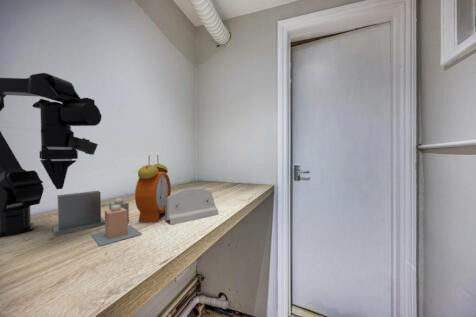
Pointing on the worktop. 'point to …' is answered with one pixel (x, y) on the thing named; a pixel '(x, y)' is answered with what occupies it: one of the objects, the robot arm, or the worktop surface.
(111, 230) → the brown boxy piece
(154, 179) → the alarm clock
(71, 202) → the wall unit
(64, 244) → the worktop surface
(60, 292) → the worktop surface
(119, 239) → the mat
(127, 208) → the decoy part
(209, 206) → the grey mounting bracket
